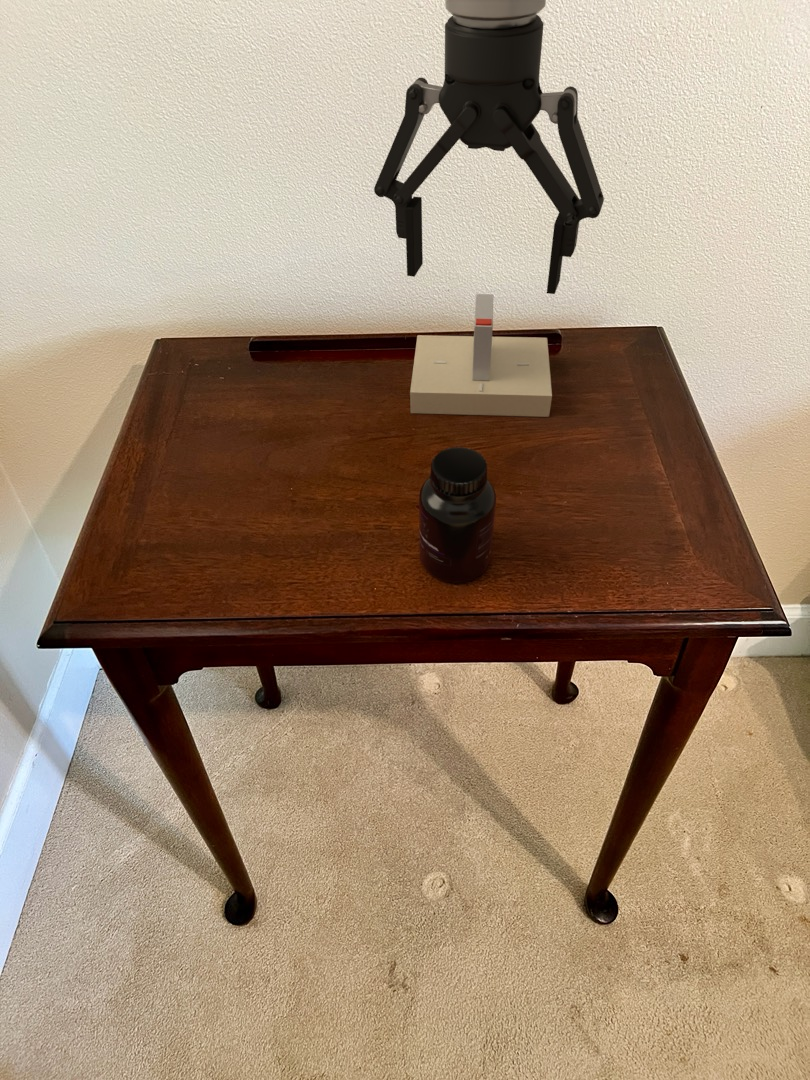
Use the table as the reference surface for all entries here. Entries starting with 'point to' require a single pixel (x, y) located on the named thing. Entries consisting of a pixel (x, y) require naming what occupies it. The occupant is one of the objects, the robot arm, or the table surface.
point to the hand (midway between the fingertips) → (482, 278)
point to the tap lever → (482, 337)
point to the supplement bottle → (456, 516)
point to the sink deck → (508, 392)
